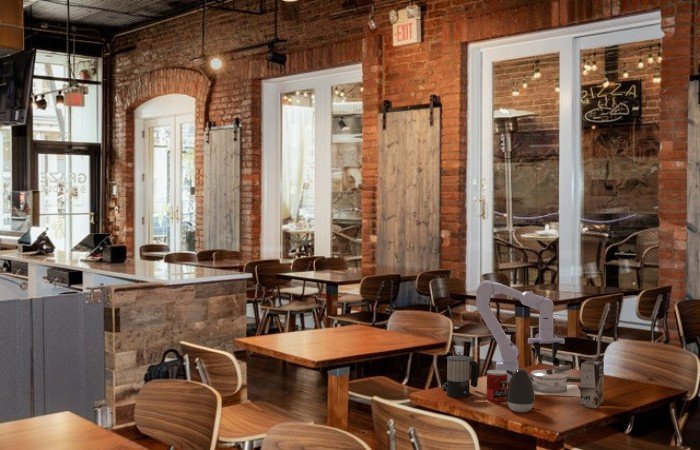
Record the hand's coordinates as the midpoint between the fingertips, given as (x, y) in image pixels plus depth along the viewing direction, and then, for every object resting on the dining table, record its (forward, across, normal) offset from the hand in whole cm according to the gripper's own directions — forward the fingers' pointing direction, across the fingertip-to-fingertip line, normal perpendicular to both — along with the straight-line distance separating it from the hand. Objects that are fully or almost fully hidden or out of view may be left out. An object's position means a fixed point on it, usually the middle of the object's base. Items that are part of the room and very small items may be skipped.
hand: (546, 360), depth 339 cm
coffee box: (+11, +12, -30) cm, 34 cm away
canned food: (+10, -23, -27) cm, 37 cm away
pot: (+9, +2, -10) cm, 14 cm away
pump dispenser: (+10, -16, -42) cm, 46 cm away
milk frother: (+10, -38, -16) cm, 43 cm away
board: (+10, +1, -10) cm, 15 cm away
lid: (+4, +2, -7) cm, 8 cm away
